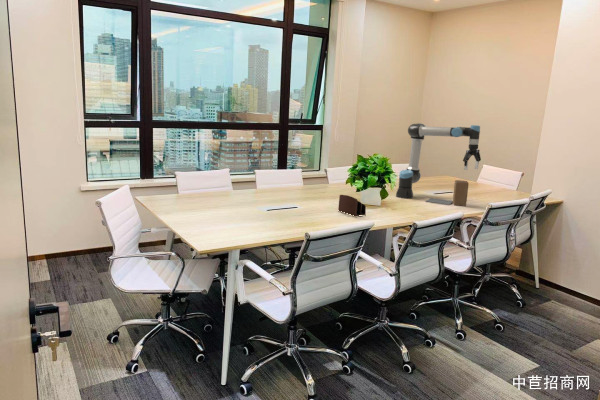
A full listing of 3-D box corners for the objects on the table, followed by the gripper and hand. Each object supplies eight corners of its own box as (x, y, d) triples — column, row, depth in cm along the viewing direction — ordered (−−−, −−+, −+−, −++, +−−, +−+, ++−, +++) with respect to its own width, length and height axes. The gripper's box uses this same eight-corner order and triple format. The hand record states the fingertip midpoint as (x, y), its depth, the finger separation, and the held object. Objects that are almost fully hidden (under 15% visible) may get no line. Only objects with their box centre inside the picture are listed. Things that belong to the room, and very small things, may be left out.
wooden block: (466, 206, 383) (468, 182, 378) (453, 205, 385) (456, 181, 380) (464, 203, 392) (467, 180, 388) (452, 203, 394) (454, 179, 390)
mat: (425, 201, 395) (425, 200, 395) (431, 198, 409) (431, 197, 408) (449, 205, 385) (449, 204, 385) (454, 202, 398) (454, 201, 398)
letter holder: (355, 217, 336) (356, 198, 333) (337, 211, 352) (338, 193, 349) (365, 215, 342) (366, 197, 339) (347, 210, 358) (348, 192, 355)
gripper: (467, 144, 375) (464, 170, 379) (487, 144, 388) (484, 169, 392) (460, 144, 381) (457, 169, 386) (479, 143, 394) (476, 167, 399)
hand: (471, 169), depth 389 cm, fingers open, 13 cm apart
